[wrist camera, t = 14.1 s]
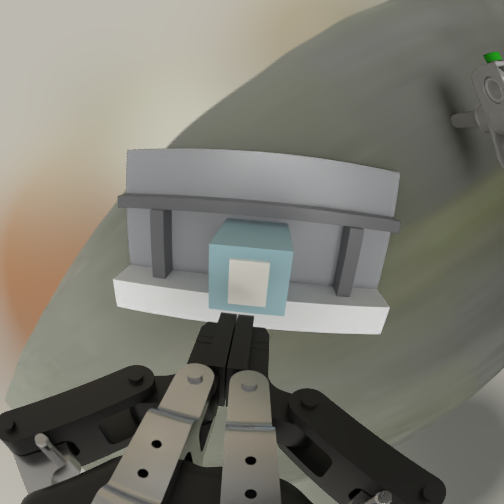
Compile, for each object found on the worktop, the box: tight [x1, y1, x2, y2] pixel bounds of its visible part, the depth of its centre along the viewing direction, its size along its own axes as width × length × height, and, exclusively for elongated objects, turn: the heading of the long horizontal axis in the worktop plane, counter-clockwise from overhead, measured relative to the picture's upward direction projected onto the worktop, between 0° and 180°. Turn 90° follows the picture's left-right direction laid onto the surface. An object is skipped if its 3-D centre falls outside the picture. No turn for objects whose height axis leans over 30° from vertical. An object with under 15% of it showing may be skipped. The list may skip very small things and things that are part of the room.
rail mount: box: [113, 149, 401, 334], centre depth 22 cm, size 24×16×5 cm, turn 86°
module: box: [209, 218, 293, 316], centre depth 20 cm, size 5×4×7 cm
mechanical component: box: [451, 52, 504, 169], centre depth 14 cm, size 3×10×10 cm, turn 26°
